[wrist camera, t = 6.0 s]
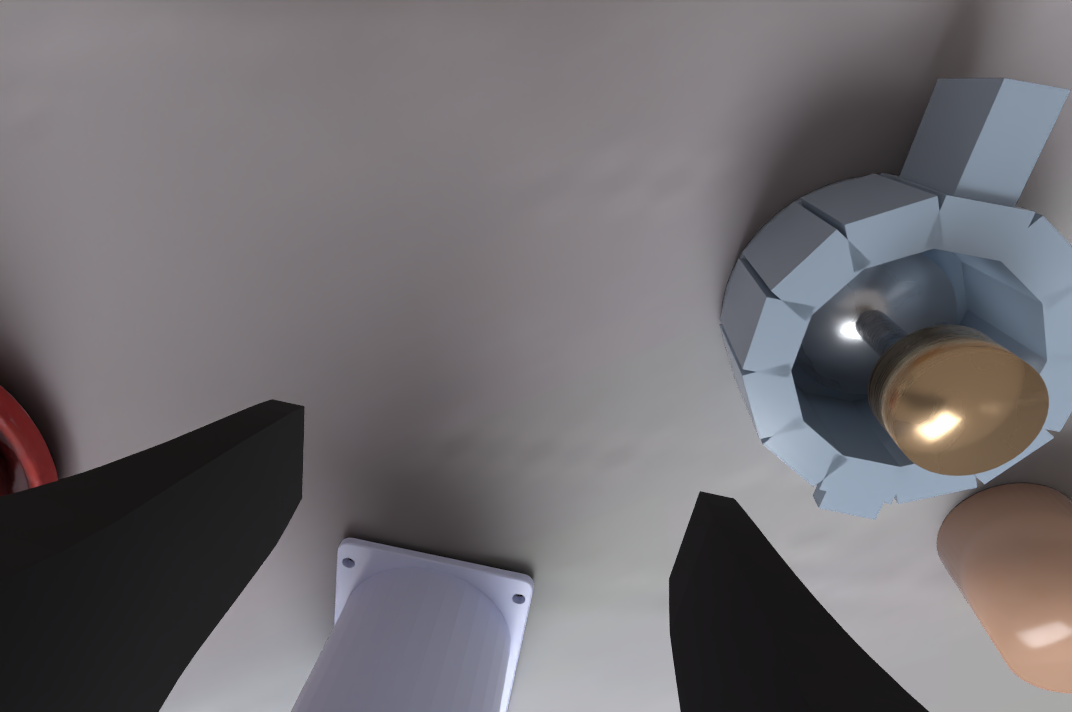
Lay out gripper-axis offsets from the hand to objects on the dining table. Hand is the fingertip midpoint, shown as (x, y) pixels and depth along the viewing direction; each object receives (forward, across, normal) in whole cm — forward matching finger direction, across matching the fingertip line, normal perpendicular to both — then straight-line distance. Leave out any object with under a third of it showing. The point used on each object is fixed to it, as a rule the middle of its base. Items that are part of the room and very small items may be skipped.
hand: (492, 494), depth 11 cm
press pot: (+10, -10, -2) cm, 14 cm away
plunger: (+10, -10, -2) cm, 14 cm away
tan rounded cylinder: (+10, -18, +5) cm, 21 cm away
